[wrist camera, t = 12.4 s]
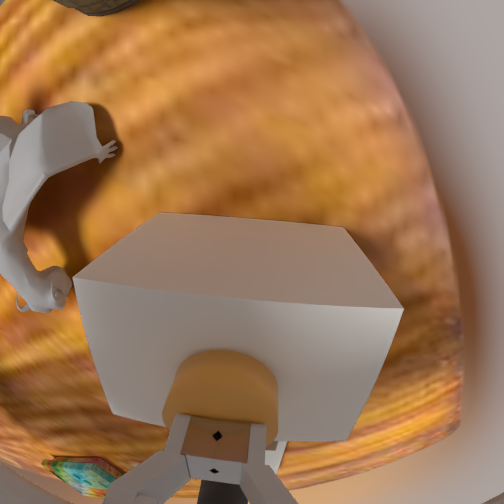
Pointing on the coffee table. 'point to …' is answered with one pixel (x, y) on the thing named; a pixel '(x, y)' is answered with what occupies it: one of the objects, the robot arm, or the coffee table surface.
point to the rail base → (240, 316)
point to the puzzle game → (84, 474)
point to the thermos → (97, 6)
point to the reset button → (224, 390)
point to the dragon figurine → (30, 181)
